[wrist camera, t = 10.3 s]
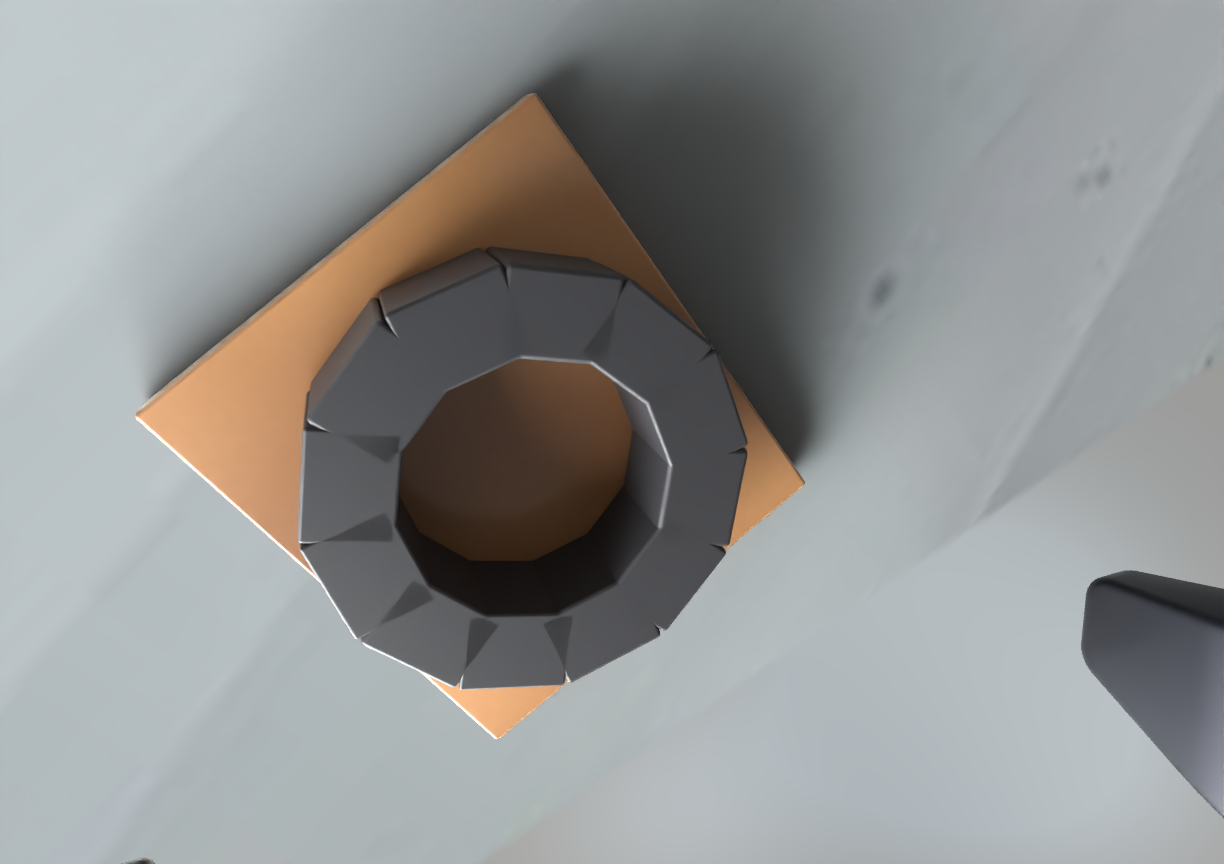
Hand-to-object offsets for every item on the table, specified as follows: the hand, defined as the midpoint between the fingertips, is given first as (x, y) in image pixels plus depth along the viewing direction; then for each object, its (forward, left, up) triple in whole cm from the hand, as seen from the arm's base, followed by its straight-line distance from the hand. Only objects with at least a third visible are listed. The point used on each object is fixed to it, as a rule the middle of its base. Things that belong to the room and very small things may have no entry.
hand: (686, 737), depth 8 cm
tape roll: (0, 0, -8) cm, 8 cm away
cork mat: (0, 0, -9) cm, 9 cm away
